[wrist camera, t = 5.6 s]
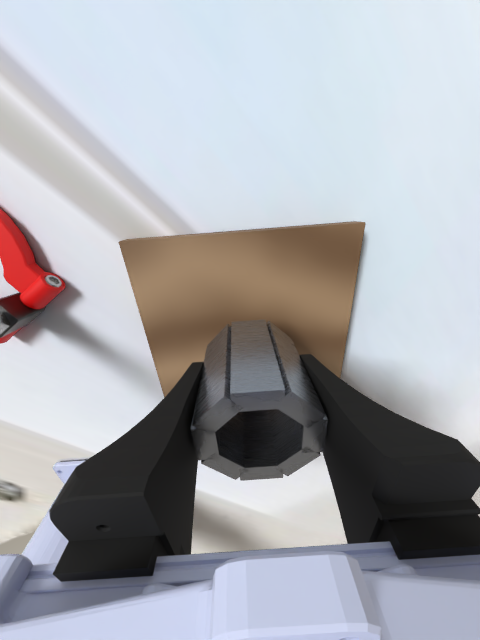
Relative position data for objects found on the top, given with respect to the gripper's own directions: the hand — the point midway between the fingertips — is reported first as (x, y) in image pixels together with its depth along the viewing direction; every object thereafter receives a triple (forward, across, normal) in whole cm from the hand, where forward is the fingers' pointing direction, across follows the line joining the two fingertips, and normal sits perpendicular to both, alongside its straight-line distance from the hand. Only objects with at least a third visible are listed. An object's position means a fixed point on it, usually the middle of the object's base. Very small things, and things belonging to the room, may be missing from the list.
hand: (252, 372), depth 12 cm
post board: (+5, 0, 0) cm, 5 cm away
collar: (+2, 0, 0) cm, 2 cm away
